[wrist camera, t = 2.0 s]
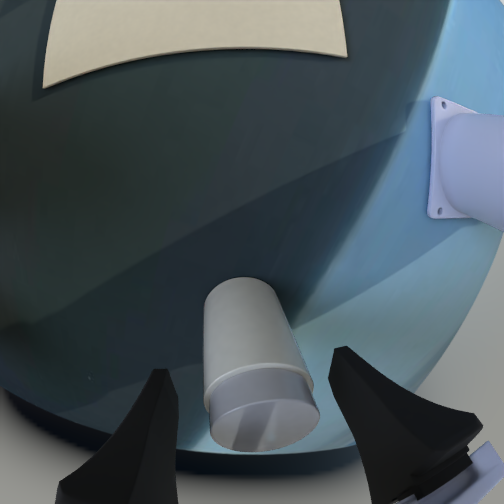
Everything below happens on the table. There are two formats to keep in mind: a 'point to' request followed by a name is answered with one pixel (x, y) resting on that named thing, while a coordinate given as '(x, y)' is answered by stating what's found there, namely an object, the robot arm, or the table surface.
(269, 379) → the salt shaker
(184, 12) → the cream square board
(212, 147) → the table surface
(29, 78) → the table surface
